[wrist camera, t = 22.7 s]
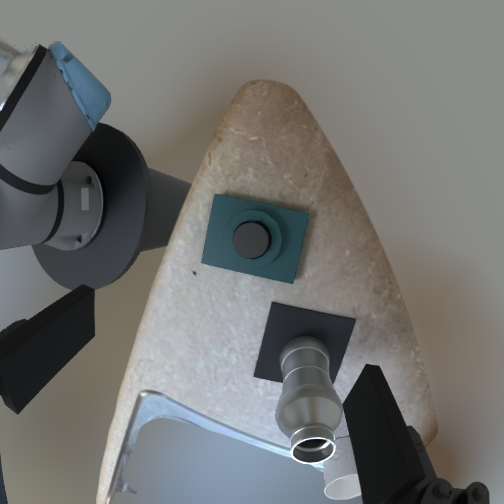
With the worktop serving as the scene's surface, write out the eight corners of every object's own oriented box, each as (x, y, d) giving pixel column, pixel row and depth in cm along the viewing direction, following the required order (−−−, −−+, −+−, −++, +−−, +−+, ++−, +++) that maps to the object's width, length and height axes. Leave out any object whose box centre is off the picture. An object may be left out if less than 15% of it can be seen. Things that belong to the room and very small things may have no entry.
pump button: (232, 252, 35) (229, 253, 33) (239, 219, 34) (236, 219, 32) (265, 259, 34) (264, 261, 32) (272, 226, 34) (271, 226, 32)
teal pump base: (205, 260, 39) (196, 265, 35) (218, 195, 38) (211, 192, 34) (292, 280, 38) (293, 287, 34) (307, 213, 37) (310, 213, 33)
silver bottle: (325, 370, 38) (346, 470, 18) (278, 370, 39) (270, 473, 19) (329, 330, 37) (361, 421, 18) (280, 330, 38) (273, 424, 18)
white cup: (370, 437, 39) (383, 474, 29) (349, 463, 40) (357, 500, 30) (332, 430, 40) (339, 471, 30) (313, 458, 41) (315, 497, 31)
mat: (253, 375, 40) (253, 376, 40) (272, 302, 38) (271, 302, 38) (330, 389, 39) (330, 390, 38) (355, 319, 37) (355, 320, 37)
